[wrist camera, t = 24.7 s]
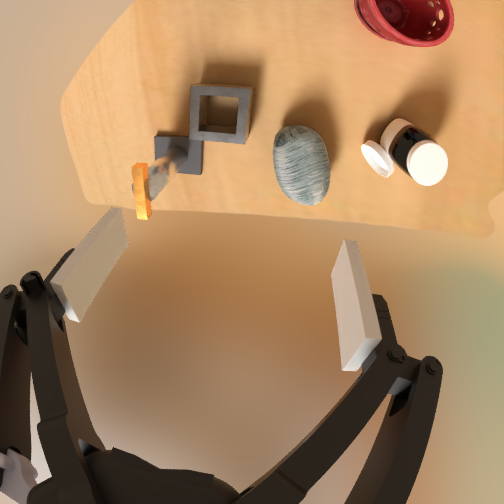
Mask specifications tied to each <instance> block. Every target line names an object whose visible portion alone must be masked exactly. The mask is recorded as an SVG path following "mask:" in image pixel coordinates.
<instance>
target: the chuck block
mask: <svg viewBox="0 0 504 504" xmlns="http://www.w3.org/2000/svg"><path fill="white" fill-rule="evenodd" d="M253 90H254V87H253V86H242V85H229V84H209V83H199V84H196V85H192V86H191V97H190V123H189V140H204V141H216V142H227V143H237V144H245V143H246V141H247V139H248V137H249V127H250V118H251V109H252V99H253ZM208 95H210V96H227V97H239V107H238V117H237V127H232V126H221V125H207V124H206V122H207V104H208Z"/></svg>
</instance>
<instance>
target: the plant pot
mask: <svg viewBox="0 0 504 504" xmlns="http://www.w3.org/2000/svg"><path fill="white" fill-rule="evenodd" d="M430 1H432V2H433V4H434V8H433V7H432V6H431V4H430ZM438 1H439V2H440V5H439V4H438ZM438 1H437V0H354V5H355V10H356V13H357V15H358V17H359V19H360V21H361V22H362V23H363V24H364V26H365V27H366V28H367V29H368V30H370V31H371V32H372V33H374V34H375V35H377V36H379V37H381V38H383V39H386V40H389V41H394V42H397V43H400V44H403V45H408V46H415V47H431V46H436V45H439V44H441V43H443V42H444V41H445V40H446V39H447V38H448V37H449V36H450V34H451V32H452V30H453V26H454V13H453V8H452V5H451V3H450V0H438ZM441 9H442V11H443V13H444V17H443V19H442V20H440V19H439V11H440V10H441ZM435 21H436V24H435V25H434V26H432V25H433V23H434V22H435ZM439 28H440V29H439ZM430 32H431V33H430ZM428 33H430V34H428Z"/></svg>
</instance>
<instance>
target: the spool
mask: <svg viewBox="0 0 504 504" xmlns="http://www.w3.org/2000/svg"><path fill="white" fill-rule="evenodd" d="M273 160H274V167H275V173H276V177H277V180H278V183H279V185H280V187H281V189H282V191H283V192H284V193H285V194H286V195H287V196H288V197H289V198H290V199H292V200H294V201H296V202H298V203H300V204H304V205H316V204H318V203H319V202H320V201H322V199H323V198H324V197H325V195H326V193H327V190H328V188H329V183H330V165H329V158H328V153H327V150H326V146H325V144H324V142H323V139H322V137H321V136H320V135H319V134H318V133H317V132H316V131H315V130H313V129H311V128H309V127H307V126H302V125H290V126H286V127H284V128H282V129H281V130H280V131H279V132H278V133H277V135H276V136H275V140H274V146H273Z"/></svg>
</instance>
